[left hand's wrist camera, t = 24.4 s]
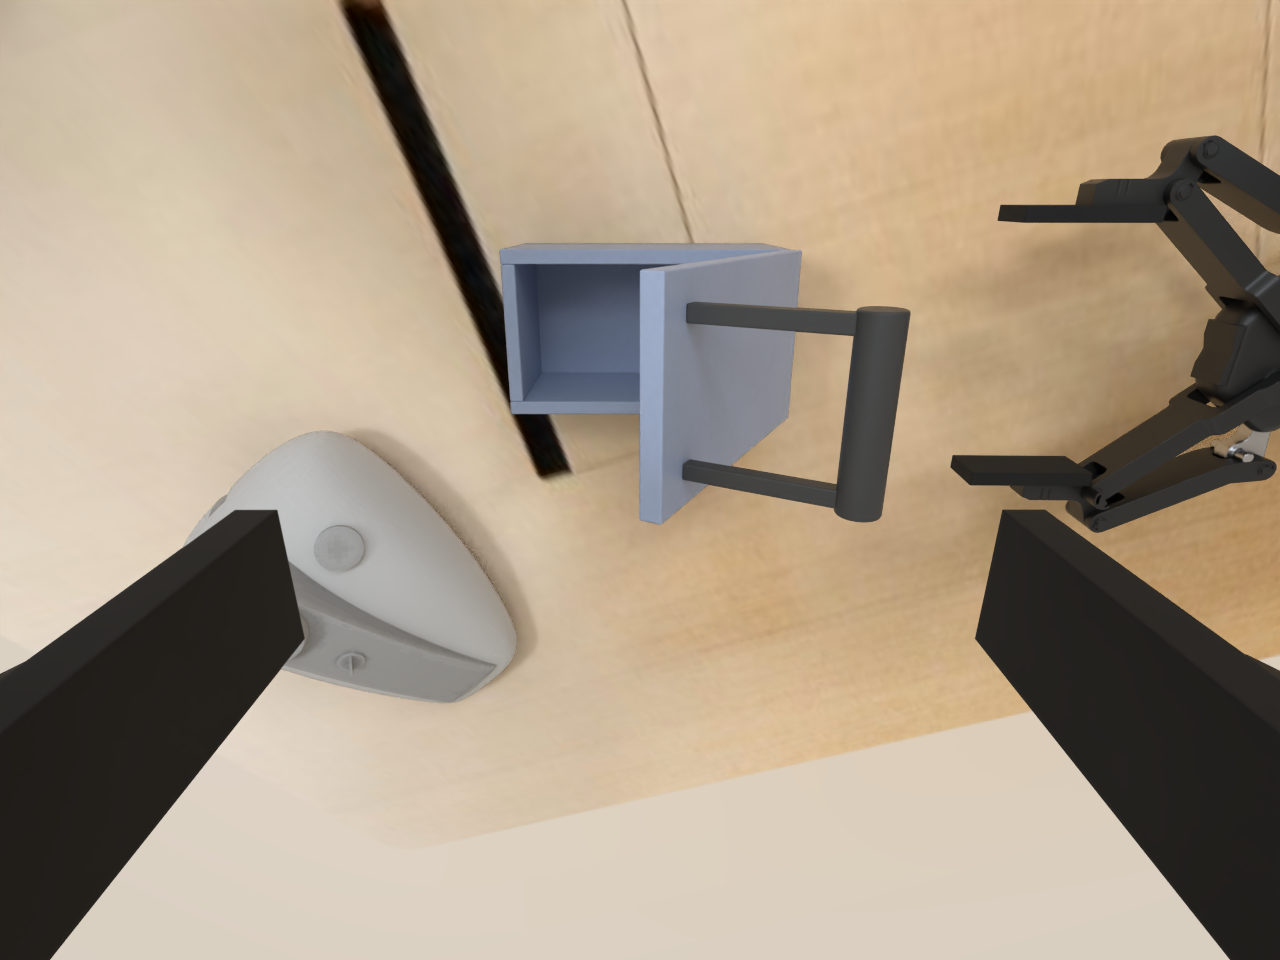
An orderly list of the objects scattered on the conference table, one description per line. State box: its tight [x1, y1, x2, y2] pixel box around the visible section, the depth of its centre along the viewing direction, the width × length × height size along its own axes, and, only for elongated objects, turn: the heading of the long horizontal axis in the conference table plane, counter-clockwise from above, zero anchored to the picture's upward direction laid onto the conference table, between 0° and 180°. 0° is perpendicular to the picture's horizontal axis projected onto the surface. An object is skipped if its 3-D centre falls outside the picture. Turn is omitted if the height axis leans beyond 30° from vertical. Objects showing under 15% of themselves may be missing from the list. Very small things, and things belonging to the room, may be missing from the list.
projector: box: [183, 431, 517, 703], centre depth 46 cm, size 22×23×15 cm
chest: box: [500, 243, 790, 414], centre depth 42 cm, size 16×9×9 cm, turn 90°
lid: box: [640, 250, 910, 525], centre depth 29 cm, size 16×9×8 cm
